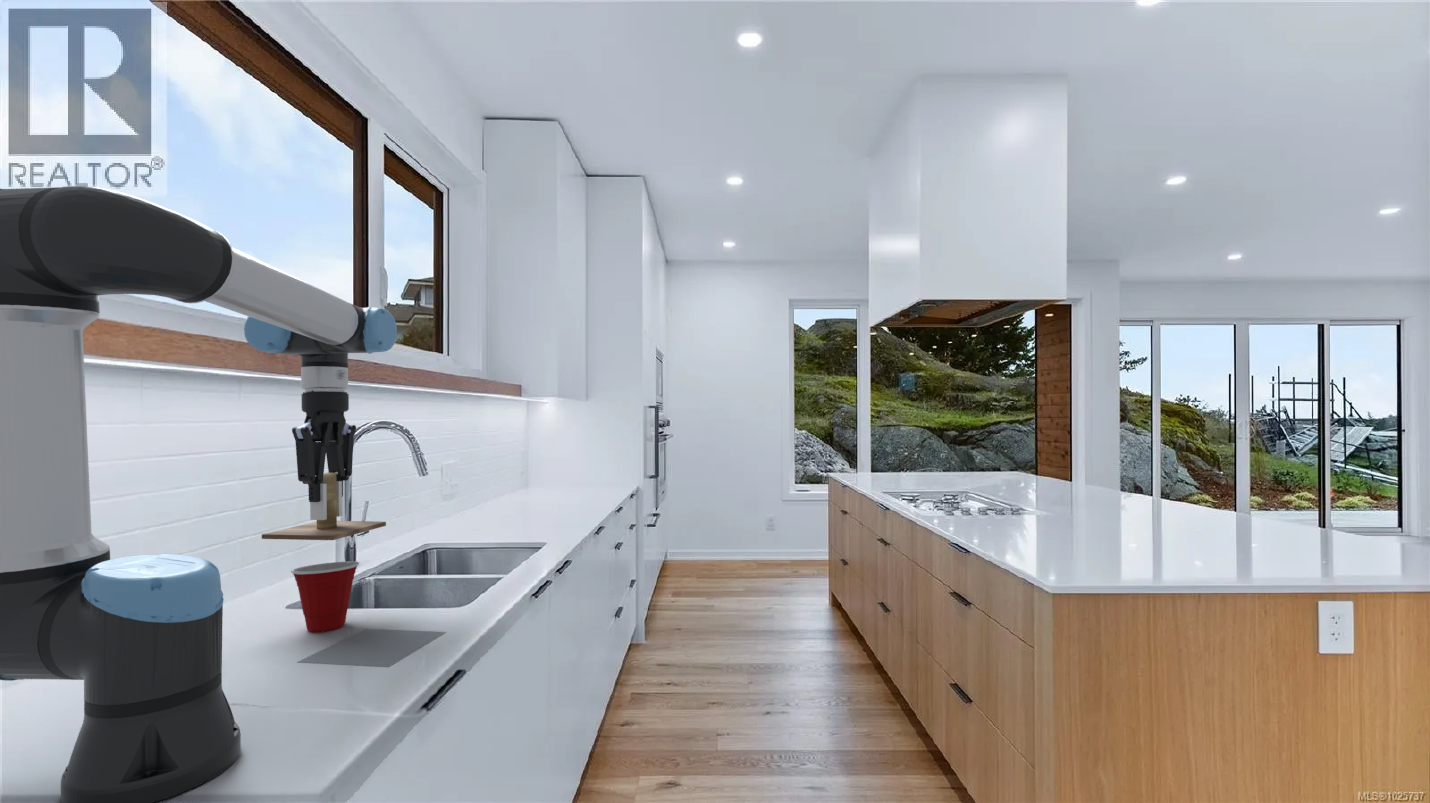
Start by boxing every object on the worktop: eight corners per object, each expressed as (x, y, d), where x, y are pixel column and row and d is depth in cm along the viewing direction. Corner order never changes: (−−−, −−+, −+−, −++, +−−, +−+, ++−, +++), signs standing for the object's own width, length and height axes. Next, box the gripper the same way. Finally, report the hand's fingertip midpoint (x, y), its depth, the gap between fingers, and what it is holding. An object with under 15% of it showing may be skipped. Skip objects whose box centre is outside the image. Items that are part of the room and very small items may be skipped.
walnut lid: (332, 540, 113) (332, 477, 113) (261, 538, 115) (261, 477, 115) (386, 525, 127) (385, 469, 127) (321, 524, 129) (320, 469, 129)
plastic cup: (357, 616, 128) (357, 554, 128) (362, 631, 119) (361, 565, 119) (291, 626, 122) (291, 562, 123) (290, 643, 113) (290, 574, 113)
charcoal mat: (388, 669, 101) (388, 666, 101) (296, 664, 104) (296, 662, 104) (446, 634, 117) (446, 631, 117) (365, 630, 120) (365, 628, 120)
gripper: (309, 389, 113) (310, 526, 112) (373, 391, 129) (374, 511, 129) (271, 390, 114) (272, 525, 114) (339, 392, 130) (340, 510, 130)
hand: (326, 517), depth 121 cm, fingers closed on walnut lid, 3 cm apart
